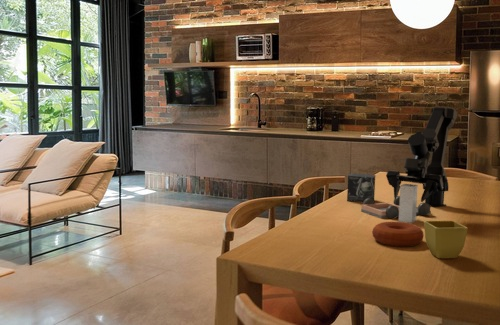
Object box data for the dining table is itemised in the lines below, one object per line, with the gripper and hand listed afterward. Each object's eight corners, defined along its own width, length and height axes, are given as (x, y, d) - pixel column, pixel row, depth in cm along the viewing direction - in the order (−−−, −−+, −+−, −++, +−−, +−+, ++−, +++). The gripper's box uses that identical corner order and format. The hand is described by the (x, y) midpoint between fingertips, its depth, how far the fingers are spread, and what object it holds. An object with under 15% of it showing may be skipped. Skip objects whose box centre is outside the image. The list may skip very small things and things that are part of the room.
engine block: (402, 219, 199) (404, 183, 197) (415, 220, 197) (417, 185, 195) (398, 221, 195) (400, 185, 194) (411, 223, 193) (413, 186, 191)
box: (346, 201, 229) (347, 175, 228) (348, 198, 236) (349, 173, 234) (373, 203, 226) (374, 177, 225) (374, 200, 233) (375, 174, 231)
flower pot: (421, 251, 159) (423, 220, 158) (451, 251, 160) (453, 220, 159) (434, 261, 151) (436, 228, 149) (466, 261, 151) (468, 227, 150)
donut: (432, 242, 170) (433, 226, 169) (406, 252, 159) (407, 234, 159) (389, 233, 180) (390, 217, 180) (361, 241, 170) (362, 224, 169)
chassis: (406, 206, 221) (406, 195, 220) (433, 214, 207) (434, 202, 206) (358, 210, 212) (359, 198, 211) (384, 219, 198) (384, 207, 197)
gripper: (389, 147, 202) (376, 182, 194) (443, 151, 192) (432, 188, 184) (395, 167, 210) (383, 201, 202) (447, 172, 200) (437, 208, 192)
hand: (408, 199), depth 195 cm, fingers open, 9 cm apart
